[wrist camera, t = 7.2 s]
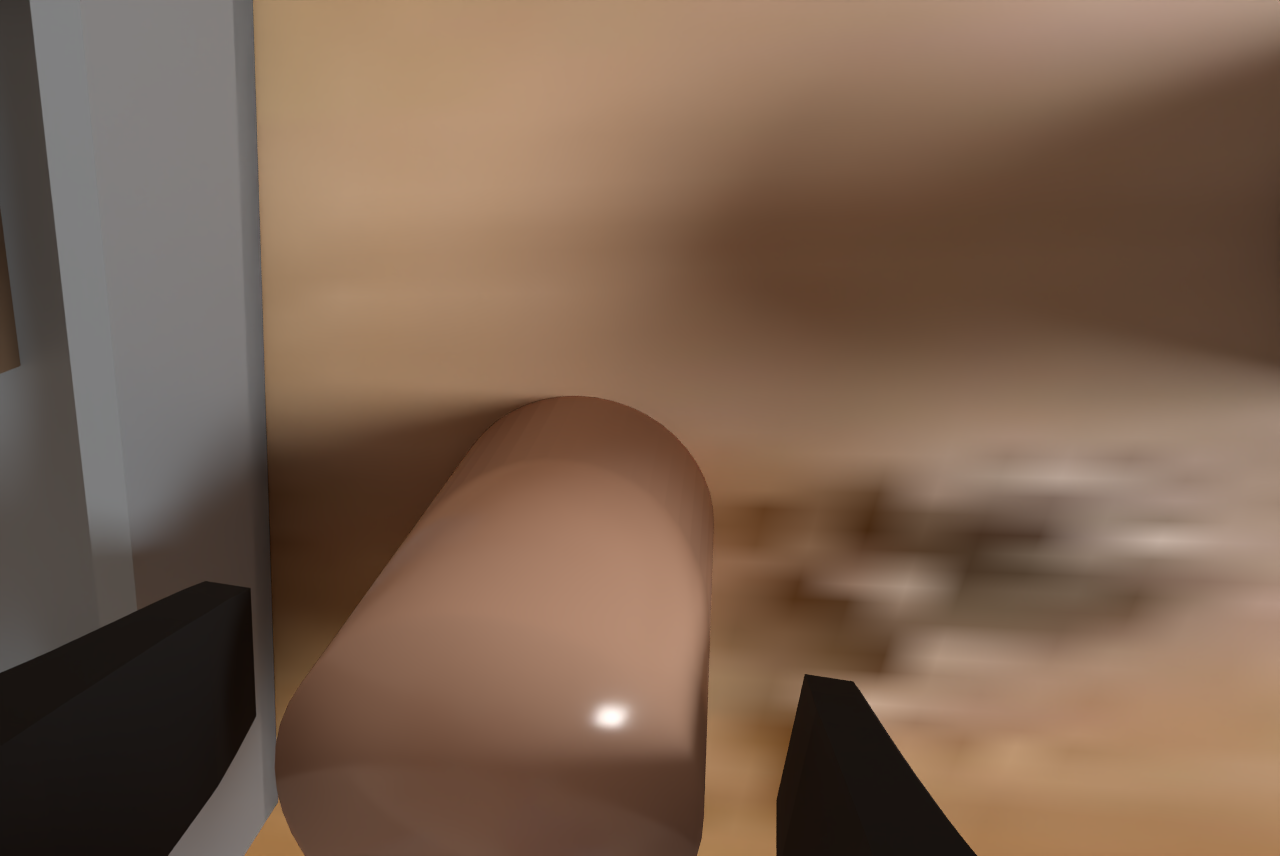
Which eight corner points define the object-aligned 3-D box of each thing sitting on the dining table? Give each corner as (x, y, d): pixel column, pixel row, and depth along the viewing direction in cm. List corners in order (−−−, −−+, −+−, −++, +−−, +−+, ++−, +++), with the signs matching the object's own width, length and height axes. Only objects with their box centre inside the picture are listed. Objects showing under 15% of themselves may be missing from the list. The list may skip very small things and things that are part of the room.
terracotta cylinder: (693, 650, 17) (672, 993, 11) (447, 612, 17) (279, 925, 11) (733, 417, 16) (735, 654, 9) (459, 378, 16) (268, 581, 9)
